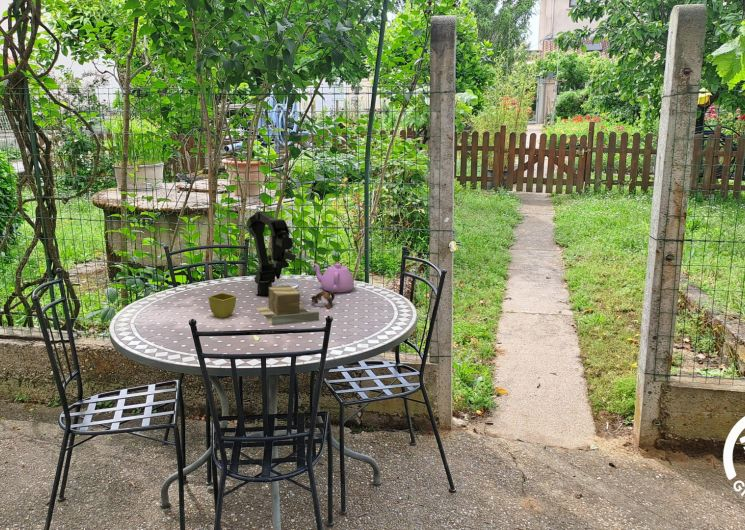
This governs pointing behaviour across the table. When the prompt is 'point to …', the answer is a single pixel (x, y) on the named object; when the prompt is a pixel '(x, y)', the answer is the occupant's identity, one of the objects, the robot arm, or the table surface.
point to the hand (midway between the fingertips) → (278, 279)
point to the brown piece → (325, 295)
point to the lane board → (288, 316)
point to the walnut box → (284, 300)
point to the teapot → (335, 278)
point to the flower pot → (222, 304)
